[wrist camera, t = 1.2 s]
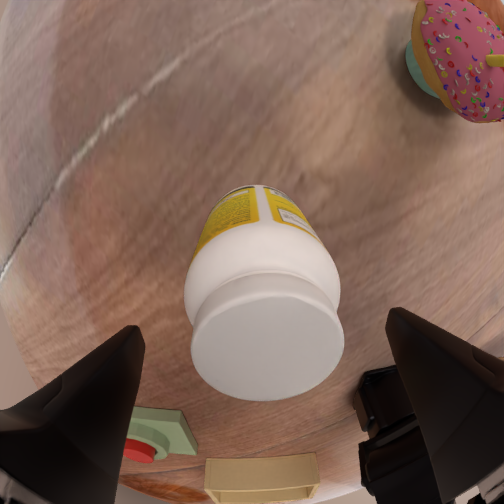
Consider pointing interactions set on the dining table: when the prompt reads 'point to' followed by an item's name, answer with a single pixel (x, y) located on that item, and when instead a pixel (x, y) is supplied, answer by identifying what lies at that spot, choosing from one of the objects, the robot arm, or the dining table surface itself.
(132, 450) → the button
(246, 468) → the wooden planter box
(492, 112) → the cupcake
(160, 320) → the dining table surface
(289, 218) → the pill bottle
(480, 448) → the robot arm
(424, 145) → the dining table surface
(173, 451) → the panel
